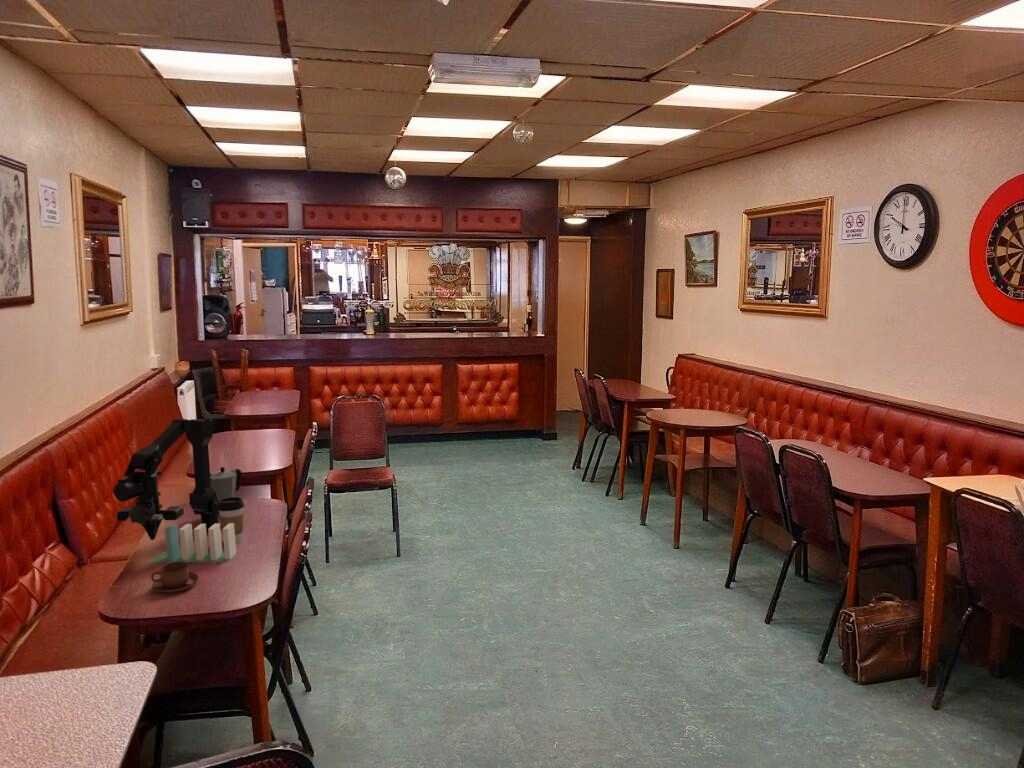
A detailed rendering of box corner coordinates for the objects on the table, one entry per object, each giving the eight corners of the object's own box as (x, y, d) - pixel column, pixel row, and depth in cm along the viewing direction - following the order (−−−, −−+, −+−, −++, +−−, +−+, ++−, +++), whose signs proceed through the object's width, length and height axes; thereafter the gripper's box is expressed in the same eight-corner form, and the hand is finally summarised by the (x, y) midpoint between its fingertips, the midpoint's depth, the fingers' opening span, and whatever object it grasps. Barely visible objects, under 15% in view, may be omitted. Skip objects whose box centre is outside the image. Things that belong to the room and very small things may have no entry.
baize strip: (160, 554, 235) (160, 552, 235) (239, 553, 234) (239, 551, 234) (148, 564, 227) (148, 562, 227) (229, 563, 226) (229, 561, 226)
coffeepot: (221, 521, 264) (217, 473, 261) (202, 518, 268) (198, 470, 266) (253, 508, 278) (249, 462, 275) (235, 505, 282) (231, 460, 279)
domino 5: (231, 553, 233) (228, 523, 231) (236, 553, 233) (233, 523, 231) (225, 559, 228) (222, 529, 226) (230, 559, 228) (227, 529, 226)
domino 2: (189, 553, 233) (186, 523, 231) (194, 553, 233) (191, 523, 231) (182, 560, 228) (179, 529, 227) (187, 560, 228) (184, 529, 226)
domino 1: (175, 554, 233) (172, 524, 232) (180, 554, 233) (177, 524, 231) (167, 560, 228) (164, 529, 227) (172, 560, 228) (169, 529, 227)
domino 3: (203, 553, 233) (200, 523, 231) (208, 553, 233) (205, 523, 231) (196, 560, 228) (193, 529, 226) (201, 559, 228) (198, 529, 226)
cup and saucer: (157, 600, 202) (155, 579, 201) (149, 585, 212) (147, 565, 211) (203, 588, 209) (201, 568, 208) (193, 574, 219) (191, 555, 218)
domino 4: (217, 553, 233) (214, 523, 231) (222, 553, 233) (219, 523, 231) (210, 559, 228) (208, 529, 226) (215, 559, 228) (213, 529, 226)
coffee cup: (216, 547, 239) (212, 503, 237) (225, 538, 248) (221, 495, 245) (242, 547, 240) (238, 503, 237) (250, 537, 248) (247, 495, 246)
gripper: (103, 500, 220) (109, 549, 222) (165, 499, 219) (170, 549, 222) (123, 489, 231) (128, 536, 233) (182, 488, 230) (186, 535, 233)
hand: (152, 539), depth 230 cm, fingers closed
